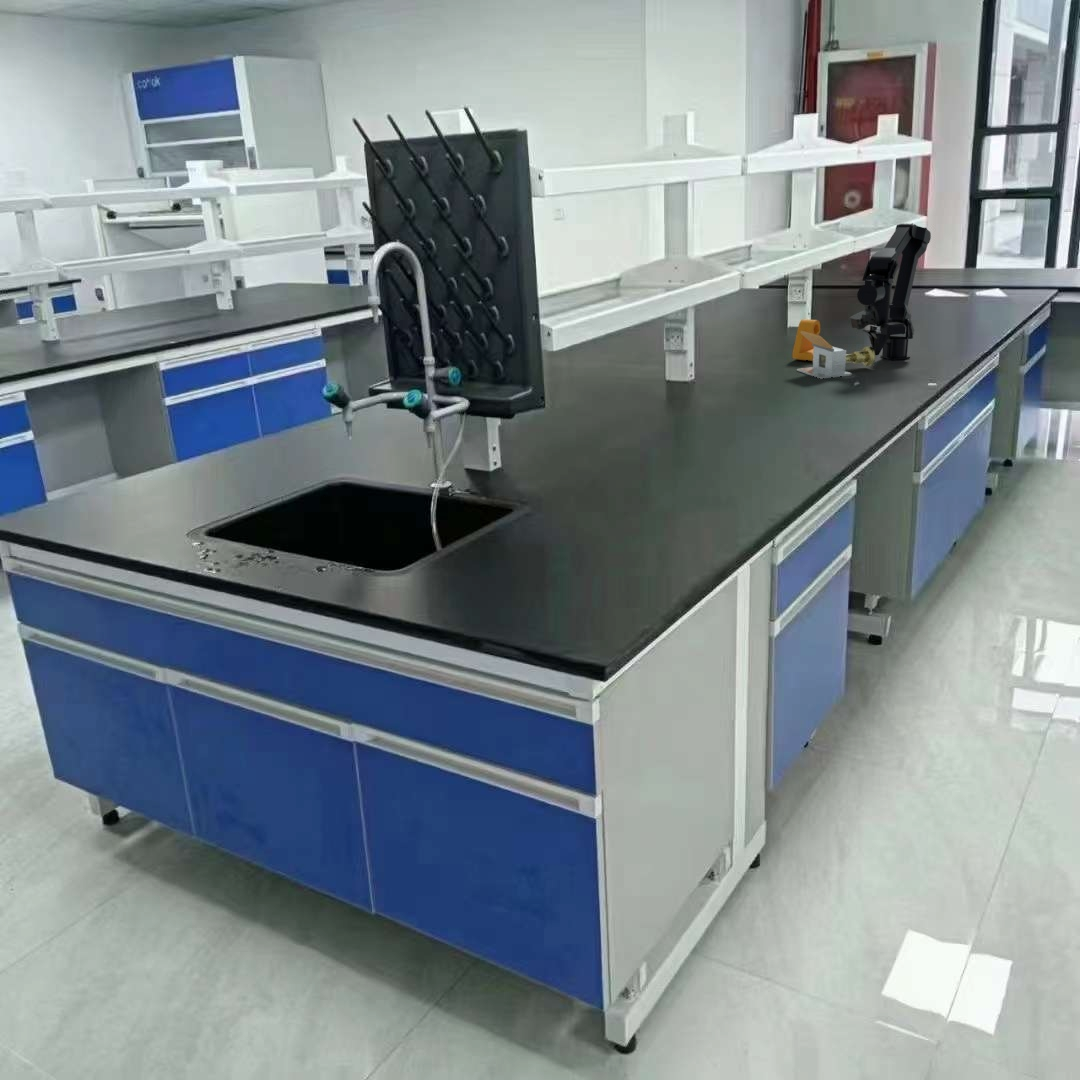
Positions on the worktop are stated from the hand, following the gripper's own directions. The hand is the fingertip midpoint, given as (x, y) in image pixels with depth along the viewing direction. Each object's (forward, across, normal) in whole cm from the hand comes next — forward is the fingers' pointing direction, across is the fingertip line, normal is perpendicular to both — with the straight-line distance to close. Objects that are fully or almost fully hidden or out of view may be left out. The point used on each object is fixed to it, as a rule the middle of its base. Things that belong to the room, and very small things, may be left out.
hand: (876, 355), depth 303 cm
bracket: (+4, -20, -9) cm, 22 cm away
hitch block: (+4, 0, -17) cm, 17 cm away
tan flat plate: (-5, 0, -20) cm, 21 cm away
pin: (+3, 0, -9) cm, 9 cm away
